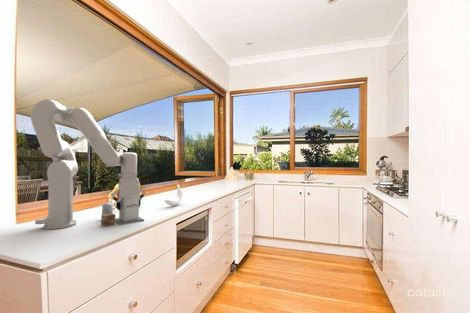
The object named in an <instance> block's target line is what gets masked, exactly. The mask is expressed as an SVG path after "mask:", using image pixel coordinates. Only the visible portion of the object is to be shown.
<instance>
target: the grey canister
mask: <svg viewBox="0 0 470 313" xmlns="http://www.w3.org/2000/svg"><path fill="white" fill-rule="evenodd" d="M101 207H102V208H101V215H102V214H108V213H113V211H114V210H113V209H114V203H113V202H104V203H102V206H101ZM113 214H114V213H113Z"/></svg>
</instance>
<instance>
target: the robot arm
mask: <svg viewBox="0 0 470 313" xmlns="http://www.w3.org/2000/svg"><path fill="white" fill-rule="evenodd" d="M30 121H31V124H32V127H33V129H34V132H35V135H36V138H37V141H38V143H39V145H40V149H41V152H42V154H43V155H44V156H45V157H48V158H51V160H52V162H51V163H50V164H49V165H48V168H47V172H46V173H47V174H46V175H47V182H48V197H47V199H48V201H47V202H48V208H47V210H48V211H47V216H46V217H44V219H35V221H34V224H35V225H42V224H43V228H44V229H46V230H57V229H63V228H70V227H73V226H75V225H76V224H77V220H75V219H73V218H74V217H73V215H74V214H73V213H74V180H73V177H74V176H76V175H77V173H78V171H79V165H78V162H77V159H76V158H75V154H74V151H73V149H72V147H71V145H70V143H68V142H67V141H66V140H63V139H62V137H61V134H60V132H59V130H58V126H57V125H56V123H55V121H56V122H60V123H65V124H68V125H72V126H75V128H77V129H78V131H79V132H80V133H81V134H82V135H83V137H84V138H85V139H86V141H87V142H88V144H89V145H90V147H91V148H92V149H93V151H94V152H95V153H96V155H97V156H98V158H99V159H100V160H101V162H103V163H104V165H106V166H107V167H110V168H111V167H117V166H118V167H119V166H121V170H120V171H121V172H120V173H118V176H117V177H118V178H119V177H120V178H119V181H118V187H117V190H115V191H114V192H112V193H110V197H111V198H112V199H113V201H115V204H116V205H115V208H116V209H117V210H118V211H119V210H120V200H121V199H122V198H125V196H137V195H139V209H140V206H141V200H142V199H143V198H144V196H146V192H147V191H145V190H143V189H142V188H141V187H140V186H141V185H140V179H139V178H138V154H137V153H136V152H117V151H116V150H115V148H114V147H113V146H112V144H111V143H110V141H109V140H108V139H107V136H106V133H105V132H104V131H103V129H102V128H101V126H100V125H99V124H98V122H96V120H95V119H94V117H93V115H92V114H91V113H90V112H89V111H88V110H87V109H86V108H84V107H75V108H73V107H69V106H65V105H62V104H61V103H60V102H58V101H56V100H54V99H50V98H48V99H41V100H39V101H38V102H37V103H36V104H35V105H34V106H33V107H32V109H31V112H30ZM116 195H117V197H116Z"/></svg>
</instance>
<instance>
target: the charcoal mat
mask: <svg viewBox="0 0 470 313" xmlns="http://www.w3.org/2000/svg"><path fill="white" fill-rule="evenodd" d="M138 221H140V222H145V219H144V218H142V217H140V216H139V218H138V219H135V220H129V221H123V220H120V219H119V217H115V224H118V225H127V224H132V223H133V222H134V223H138Z"/></svg>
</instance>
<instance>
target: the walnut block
mask: <svg viewBox="0 0 470 313" xmlns="http://www.w3.org/2000/svg"><path fill="white" fill-rule="evenodd" d="M115 218H116V214H115V213H108V214H102V213H101V223H100V224H101V225H102V227H104V226H105V227H110V225H111V226H115V225H116V222H115Z"/></svg>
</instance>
